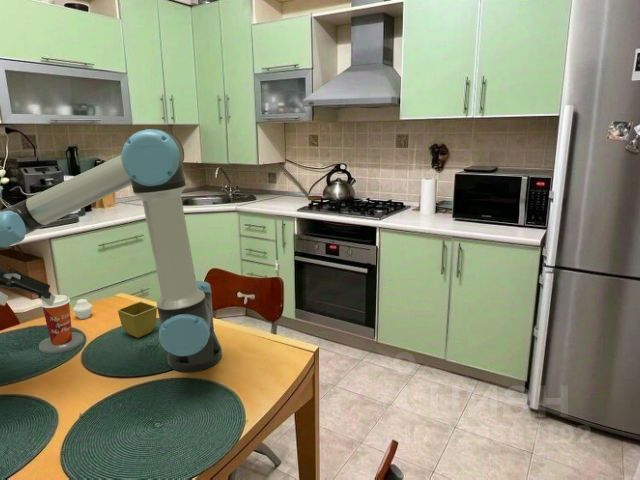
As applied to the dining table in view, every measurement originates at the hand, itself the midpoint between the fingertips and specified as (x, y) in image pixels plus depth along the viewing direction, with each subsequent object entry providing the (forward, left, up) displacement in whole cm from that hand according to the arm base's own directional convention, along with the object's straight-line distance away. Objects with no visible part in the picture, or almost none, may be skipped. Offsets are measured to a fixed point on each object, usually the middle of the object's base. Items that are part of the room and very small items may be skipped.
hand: (29, 301), depth 123 cm
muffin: (+28, -14, -19) cm, 36 cm away
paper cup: (+8, -6, -18) cm, 20 cm away
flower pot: (+3, -28, -19) cm, 34 cm away
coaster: (+9, -6, -19) cm, 21 cm away
